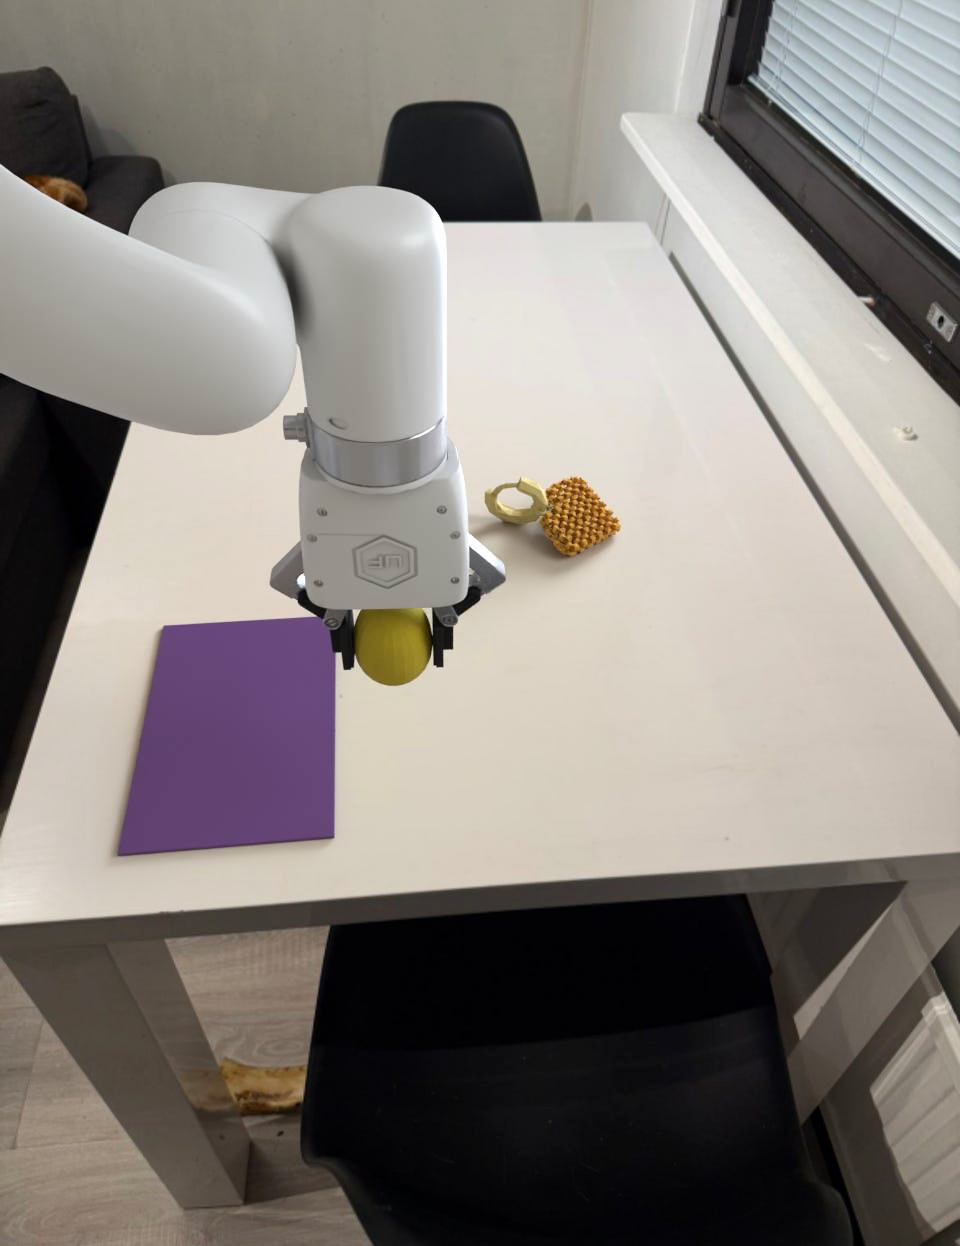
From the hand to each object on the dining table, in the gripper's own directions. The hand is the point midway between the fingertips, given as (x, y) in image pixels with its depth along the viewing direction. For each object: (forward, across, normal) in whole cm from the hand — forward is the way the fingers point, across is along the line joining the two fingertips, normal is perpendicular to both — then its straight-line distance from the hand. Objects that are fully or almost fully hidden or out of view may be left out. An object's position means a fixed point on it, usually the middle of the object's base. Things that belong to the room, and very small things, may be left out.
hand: (394, 652), depth 61 cm
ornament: (+14, +16, +31) cm, 37 cm away
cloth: (+14, -14, +5) cm, 20 cm away
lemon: (+3, 0, 0) cm, 3 cm away
